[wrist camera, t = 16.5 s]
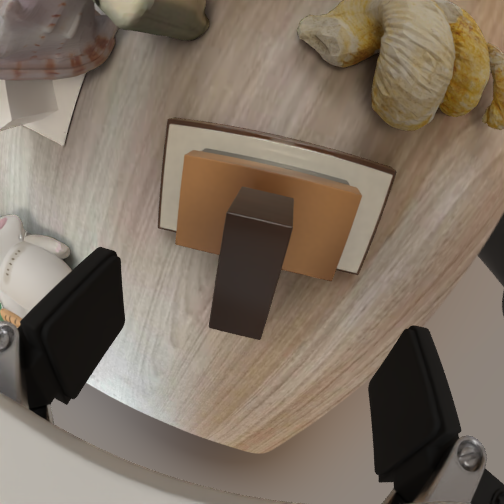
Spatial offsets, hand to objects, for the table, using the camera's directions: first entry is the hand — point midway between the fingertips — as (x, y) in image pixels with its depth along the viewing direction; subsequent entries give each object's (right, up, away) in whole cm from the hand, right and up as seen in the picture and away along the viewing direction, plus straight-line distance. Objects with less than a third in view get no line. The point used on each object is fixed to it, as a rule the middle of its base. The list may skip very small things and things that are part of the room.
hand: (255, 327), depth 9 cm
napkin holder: (-17, +19, +7) cm, 27 cm away
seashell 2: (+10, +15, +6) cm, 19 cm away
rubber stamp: (+1, +6, +10) cm, 12 cm away
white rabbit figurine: (-22, +3, +17) cm, 28 cm away
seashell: (-14, +18, +3) cm, 23 cm away
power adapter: (-5, +18, +6) cm, 20 cm away
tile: (+1, +6, +11) cm, 13 cm away
